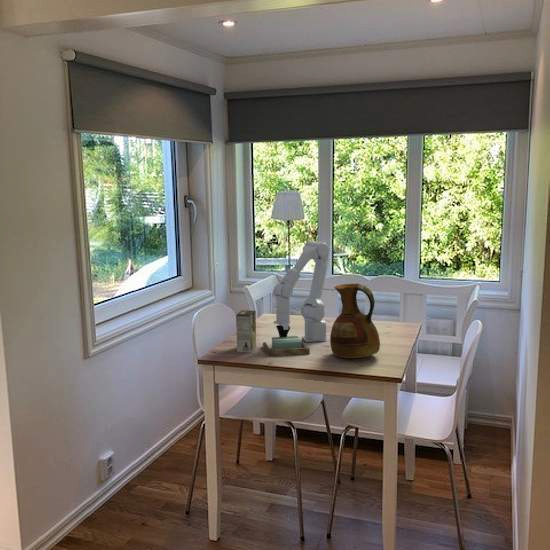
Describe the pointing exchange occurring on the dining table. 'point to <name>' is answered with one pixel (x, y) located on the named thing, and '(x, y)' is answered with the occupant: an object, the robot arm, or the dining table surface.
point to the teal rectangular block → (286, 342)
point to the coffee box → (246, 331)
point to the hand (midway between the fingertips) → (283, 342)
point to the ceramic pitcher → (354, 325)
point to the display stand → (286, 350)
